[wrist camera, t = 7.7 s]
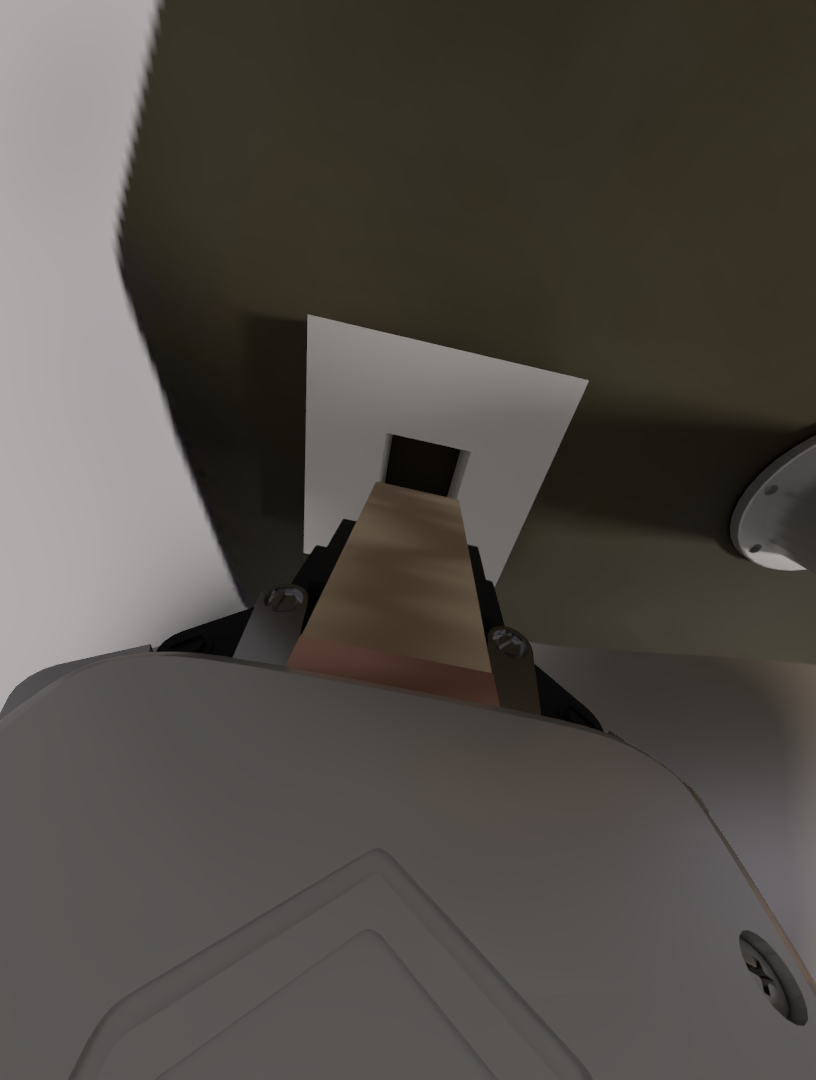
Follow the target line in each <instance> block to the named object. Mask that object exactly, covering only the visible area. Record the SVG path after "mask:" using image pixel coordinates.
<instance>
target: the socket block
mask: <svg viewBox="0 0 816 1080" xmlns="http://www.w3.org/2000/svg"><path fill="white" fill-rule="evenodd" d="M588 382H589V380H585V379H581V378H576V377H572V376H568V375H564V374H559V373H555V372H551V371H547V370H542V369H538V368H534V367H530V366H525V365H521V364H517V363H512V362H508V361H504V360H500V359H495V358H491V357H487V356H483V355H478V354H474V353H470V352H466V351H461V350H457V349H453V348H449V347H444V346H440V345H436V344H432V343H427V342H423V341H419V340H415V339H410V338H406V337H402V336H398V335H393V334H389V333H385V332H381V331H376V330H372V329H368V328H363V327H359V326H355V325H351V324H346V323H342V322H338V321H334V320H329V319H325V318H321V317H317V316H312V315H308V323H307V383H306V444H305V504H304V553H307V554H310V553H311V552H312V550H313V549H314V547H315V546H316V545H319V546H324V547H327V546H328V544H329V542H330V541H331V539H332V537H333V535H334V534H335V532H336V530H337V528H338V527H339V525H340V523H341V522H342V520H343V519H348V520H353V521H357V520H358V518H359V516H360V514H361V511H362V509H363V507H364V505H365V503H366V501H367V499H368V497H369V495H370V493H371V491H372V489H373V487H374V485H375V482H381V483H385V480H386V474H387V468H388V462H389V456H390V449H391V443H392V437H393V434H394V435H399V436H403V437H407V438H412V439H416V440H421V441H425V442H430V443H434V444H439V445H443V446H448V447H452V448H457V449H461V450H460V454H459V457H458V461H457V464H456V468H455V471H454V475H453V478H452V482H451V485H450V489H449V492H448V495H447V497H448V498H453V499H457V500H459V503H460V508H461V513H462V518H463V524H464V529H465V534H466V540H467V545H472V546H477V547H478V549H479V553H480V557H481V561H482V565H483V569H484V574H485V578H486V580H490V581H492V582H493V585H494V587H495V585H496V583H497V581H498V579H499V576H500V574H501V572H502V570H503V568H504V565H505V563H506V561H507V559H508V557H509V555H510V552H511V550H512V548H513V546H514V544H515V541H516V539H517V537H518V535H519V533H520V530H521V528H522V526H523V524H524V522H525V520H526V517H527V515H528V513H529V511H530V509H531V506H532V504H533V502H534V500H535V498H536V496H537V493H538V491H539V489H540V487H541V485H542V482H543V480H544V478H545V476H546V474H547V471H548V469H549V467H550V465H551V463H552V461H553V458H554V456H555V454H556V452H557V450H558V447H559V445H560V443H561V441H562V439H563V437H564V434H565V432H566V430H567V428H568V426H569V423H570V421H571V419H572V417H573V415H574V413H575V410H576V408H577V406H578V404H579V402H580V399H581V397H582V395H583V393H584V391H585V388H586V386H587V384H588Z"/></svg>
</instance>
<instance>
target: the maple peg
mask: <svg viewBox="0 0 816 1080" xmlns="http://www.w3.org/2000/svg"><path fill="white" fill-rule="evenodd" d="M285 667H290V668H296V669H301V670H307V671H312V672H318V673H323V674H329V675H334V676H339V677H345V678H350V679H356V680H361V681H366V682H372V683H377V684H382V685H388V686H393V687H398V688H404V689H409V690H414V691H419V692H425V693H430V694H435V695H440V696H446V697H451V698H456V699H461V700H466V701H471V702H476V703H482V704H487V705H492V706H497V707H500V705H499V700H498V695H497V690H496V685H495V680H494V674H493V673H492V671H491V666H490V660H489V655H488V650H487V645H486V639H485V634H484V629H483V624H482V618H481V613H480V608H479V603H478V597H477V592H476V587H475V582H474V576H473V571H472V566H471V561H470V555H469V550H468V545H467V540H466V534H465V529H464V524H463V518H462V513H461V508H460V503H459V500H457V499H453V498H448V497H444V496H439V495H435V494H430V493H426V492H421V491H417V490H412V489H408V488H403V487H399V486H394V485H390V484H385V483H381V482H375V485H374V487H373V489H372V491H371V493H370V495H369V497H368V499H367V501H366V503H365V505H364V507H363V509H362V511H361V514H360V516H359V518H358V520H357V522H356V524H355V526H354V528H353V530H352V532H351V534H350V536H349V538H348V540H347V542H346V545H345V547H344V549H343V551H342V553H341V555H340V557H339V559H338V561H337V563H336V565H335V567H334V569H333V571H332V573H331V576H330V578H329V580H328V582H327V584H326V586H325V588H324V590H323V592H322V594H321V596H320V598H319V600H318V602H317V604H316V607H315V609H314V611H313V613H312V615H311V617H310V619H309V621H308V623H307V625H306V627H305V629H304V631H303V633H302V635H300V637H299V639H298V641H297V643H296V645H295V647H294V649H293V651H292V653H291V655H290V657H289V659H288V661H287V663H286V665H285Z"/></svg>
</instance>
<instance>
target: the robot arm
mask: <svg viewBox="0 0 816 1080" xmlns="http://www.w3.org/2000/svg"><path fill="white" fill-rule="evenodd" d="M356 522H357V521H353V520H348V519H343V520H342V522H341V523H340V525H339V527H338V528H337V530H336V532H335V534H334V535H333V537H332V539H331V541H330V542H329V544H328V546H327V547H324V546H319V545H316V546H315V547H314V549H313V550H312V552H311V553H310V555H309V557H308V558H307V560H306V561H305V563H304V564H303V566H302V568H301V569H300V571H299V572H298V574H297V575H296V577H295V578H294V580H293V582H292V583H291V584H290V583H283V584H277V585H274V586H271V587H269V588H267V589H266V590H265V591H263V592H262V594H261V595H260V596H259V598H258V601H257V603H256V605H255V607H253V608H250V609H247V610H244V611H241V612H238V613H235V614H232V615H229V616H227V617H223V618H221V619H217V620H215V621H211V622H209V623H206V624H203V625H200V626H197V627H194V628H191V629H188V630H185V631H182V632H180V633H177V634H175V635H173V636H172V637H170V638H169V639H167V640H166V641H164V642H163V643H162V645H161V646H159V647H156V648H152V647H151V645H145V646H140V647H136V648H131V649H127V650H122V651H118V652H113V653H109V654H104V655H99V656H95V657H90V658H86V659H81V660H77V661H72V662H68V663H63V664H59V665H55V666H52V667H49V668H46V669H43V670H41V671H39V672H37V673H35V674H33V675H31V676H29V677H28V678H27V679H25V680H24V681H23V682H21V683H20V684H19V685H18V686H16V688H15V689H14V690H13V691H12V693H11V694H10V695H9V697H8V699H7V701H6V703H5V705H4V707H3V709H2V711H1V713H0V1080H816V983H815V981H814V980H813V978H812V977H811V975H810V973H809V971H808V970H807V968H806V966H805V965H804V963H803V961H802V960H801V958H800V956H799V954H798V953H797V951H796V949H795V948H794V946H793V944H792V943H791V941H790V940H789V938H788V936H787V935H786V933H785V931H784V930H783V928H782V927H781V925H780V923H779V922H778V920H777V919H776V917H775V915H774V914H773V912H772V910H771V909H770V907H769V906H768V904H767V902H766V901H765V899H764V898H763V896H762V894H761V893H760V891H759V889H758V888H757V886H756V885H755V883H754V881H753V880H752V878H751V877H750V875H749V873H748V872H747V871H746V869H745V867H744V865H743V864H742V862H741V861H740V859H739V858H738V856H737V855H736V853H735V852H734V850H733V849H732V847H731V845H730V844H729V842H728V841H727V839H726V838H725V836H724V835H723V833H722V832H721V831H720V829H719V827H718V826H717V825H716V823H715V822H714V820H713V819H712V817H711V816H710V814H709V811H708V809H707V808H706V806H705V804H704V803H703V801H702V800H701V798H700V797H699V796H698V795H697V794H696V793H695V791H694V790H693V789H692V788H691V787H690V786H689V785H687V784H686V783H685V782H684V781H682V779H681V778H680V777H678V776H677V775H676V774H675V773H674V772H673V771H672V770H671V769H669V768H668V767H667V766H665V765H664V764H663V763H661V762H660V761H658V760H657V759H655V758H654V757H652V756H651V755H649V754H647V753H646V752H643V751H642V750H640V749H638V748H637V747H635V746H633V745H631V744H629V743H627V742H626V741H624V740H623V739H621V738H620V737H618V736H617V735H615V734H614V733H612V732H611V731H609V732H608V733H605V732H604V731H603V729H602V727H601V725H600V723H599V722H598V720H597V719H596V717H595V716H594V715H593V714H592V713H591V712H590V711H589V710H588V709H587V708H586V707H585V706H584V705H582V704H581V703H580V702H579V701H577V700H576V699H575V698H574V697H573V696H572V695H571V694H570V693H568V692H567V691H566V690H565V689H564V688H562V687H561V686H560V685H559V684H558V683H556V682H555V681H554V680H553V679H552V678H550V677H549V676H548V675H547V674H546V673H545V672H543V671H542V670H541V669H540V668H539V667H538V666H536V665H535V664H534V657H533V651H532V647H531V645H530V643H529V642H528V640H527V639H526V638H525V637H524V636H523V635H522V634H521V633H519V632H518V631H516V630H514V629H512V628H510V627H506V626H505V625H504V622H503V618H502V614H501V611H500V607H499V603H498V600H497V596H496V592H495V588H494V585H493V582H492V581H490V580H486V578H485V574H484V569H483V565H482V561H481V557H480V553H479V549H478V547H477V546H472V545H468V550H469V555H470V561H471V566H472V571H473V576H474V582H475V587H476V592H477V597H478V603H479V608H480V613H481V618H482V624H483V629H484V634H485V639H486V645H487V650H488V655H489V660H490V666H491V671H492V673H493V674H494V680H495V685H496V690H497V695H498V700H499V705H500V707H497V706H492V705H487V704H482V703H476V702H471V701H466V700H461V699H456V698H451V697H446V696H440V695H435V694H430V693H425V692H419V691H414V690H409V689H404V688H398V687H393V686H388V685H382V684H377V683H372V682H366V681H361V680H356V679H350V678H345V677H339V676H334V675H329V674H323V673H318V672H312V671H307V670H301V669H296V668H290V667H285V665H286V663H287V661H288V659H289V657H290V655H291V653H292V651H293V649H294V647H295V645H296V643H297V641H298V639H299V637H300V635H302V633H303V631H304V629H305V627H306V625H307V623H308V621H309V619H310V617H311V615H312V613H313V611H314V609H315V607H316V604H317V602H318V600H319V598H320V596H321V594H322V592H323V590H324V588H325V586H326V584H327V582H328V580H329V578H330V576H331V573H332V571H333V569H334V567H335V565H336V563H337V561H338V559H339V557H340V555H341V553H342V551H343V549H344V547H345V545H346V542H347V540H348V538H349V536H350V534H351V532H352V530H353V528H354V526H355V524H356ZM730 537H731V540H732V542H733V545H734V547H735V548H736V549H737V550H738V551H739V553H740V554H741V555H743V556H745V557H746V558H748V559H749V560H751V561H752V562H754V563H756V564H758V565H760V566H762V567H766V568H770V569H775V570H789V571H792V570H804V569H808V570H809V571H811V572H813V573H815V574H816V435H815V436H813V437H812V438H810V439H808V440H806V441H804V442H802V443H801V444H799V445H797V446H795V447H794V448H792V449H791V450H789V451H788V452H787V453H785V454H784V455H782V456H781V457H779V458H778V459H776V460H775V461H774V462H773V463H772V464H771V465H769V466H768V467H767V468H766V469H765V470H764V471H763V472H761V473H760V474H759V475H758V477H757V478H756V479H755V480H754V481H753V482H752V483H751V484H750V485H749V487H748V488H747V489H746V491H745V492H744V494H743V495H742V497H741V498H740V500H739V501H738V503H737V505H736V508H735V510H734V512H733V514H732V519H731V524H730Z"/></svg>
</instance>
